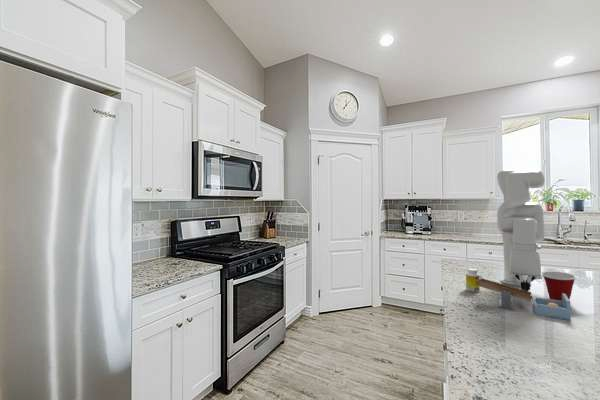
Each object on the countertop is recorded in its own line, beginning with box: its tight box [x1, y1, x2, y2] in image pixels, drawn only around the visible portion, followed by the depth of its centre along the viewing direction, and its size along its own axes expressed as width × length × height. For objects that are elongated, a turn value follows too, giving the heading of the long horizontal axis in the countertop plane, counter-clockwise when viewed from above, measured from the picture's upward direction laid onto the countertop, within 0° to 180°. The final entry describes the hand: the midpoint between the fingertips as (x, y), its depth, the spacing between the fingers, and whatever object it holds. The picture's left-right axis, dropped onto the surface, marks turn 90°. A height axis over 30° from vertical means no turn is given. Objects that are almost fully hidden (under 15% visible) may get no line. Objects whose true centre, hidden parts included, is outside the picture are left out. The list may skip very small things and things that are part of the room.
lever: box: [477, 275, 533, 303], centre depth 117 cm, size 12×18×3 cm
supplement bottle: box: [465, 268, 481, 293], centre depth 134 cm, size 6×6×10 cm
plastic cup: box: [541, 270, 577, 301], centre depth 117 cm, size 11×11×12 cm
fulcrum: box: [498, 284, 515, 311], centre depth 114 cm, size 10×5×7 cm, turn 143°
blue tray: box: [531, 293, 572, 322], centre depth 106 cm, size 10×10×7 cm
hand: (525, 291), depth 115 cm, fingers closed
